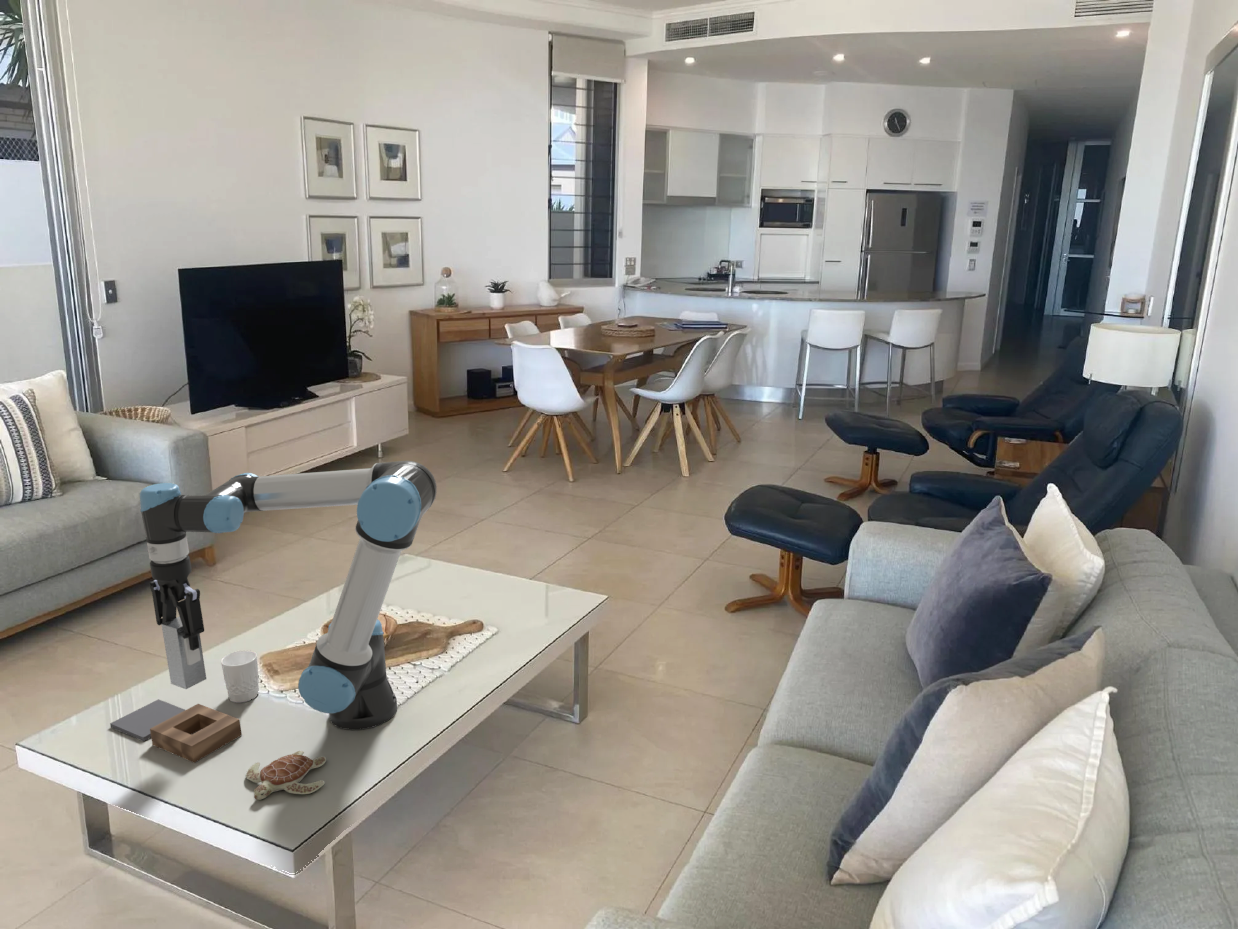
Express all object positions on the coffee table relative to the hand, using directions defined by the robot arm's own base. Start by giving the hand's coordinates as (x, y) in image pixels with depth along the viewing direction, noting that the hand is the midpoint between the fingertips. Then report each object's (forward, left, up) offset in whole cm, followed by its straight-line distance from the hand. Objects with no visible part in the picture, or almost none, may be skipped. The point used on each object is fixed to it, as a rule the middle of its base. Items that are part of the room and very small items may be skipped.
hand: (185, 659), depth 199 cm
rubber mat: (+16, 0, -20) cm, 25 cm away
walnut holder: (0, 0, -20) cm, 20 cm away
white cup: (+7, -18, -20) cm, 28 cm away
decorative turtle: (-29, +1, -20) cm, 35 cm away
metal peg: (0, 0, -5) cm, 5 cm away
